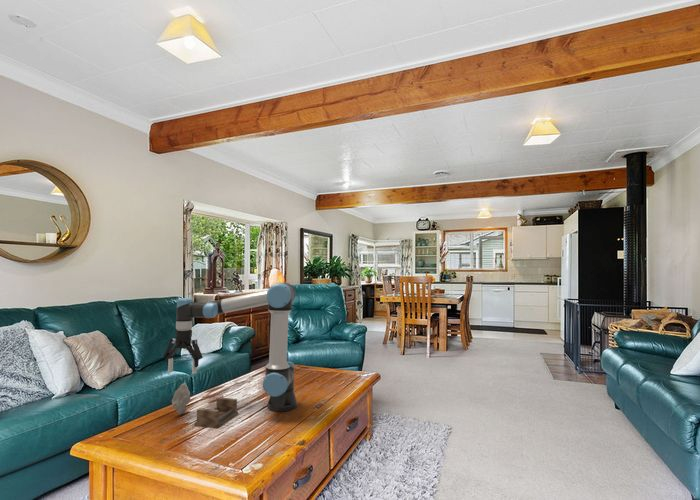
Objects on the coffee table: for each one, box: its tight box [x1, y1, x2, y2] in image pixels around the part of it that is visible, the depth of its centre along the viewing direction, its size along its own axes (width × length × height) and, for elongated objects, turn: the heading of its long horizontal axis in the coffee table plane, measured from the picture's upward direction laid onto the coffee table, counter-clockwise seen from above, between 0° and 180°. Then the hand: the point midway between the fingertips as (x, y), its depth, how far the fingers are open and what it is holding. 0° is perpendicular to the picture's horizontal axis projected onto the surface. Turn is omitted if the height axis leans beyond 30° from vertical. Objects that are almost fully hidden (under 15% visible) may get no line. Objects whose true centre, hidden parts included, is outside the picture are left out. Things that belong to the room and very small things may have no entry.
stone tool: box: [171, 381, 191, 416], centre depth 188 cm, size 11×4×15 cm, turn 155°
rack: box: [194, 397, 239, 429], centre depth 181 cm, size 12×18×7 cm, turn 167°
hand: (182, 372), depth 189 cm, fingers open, 13 cm apart
